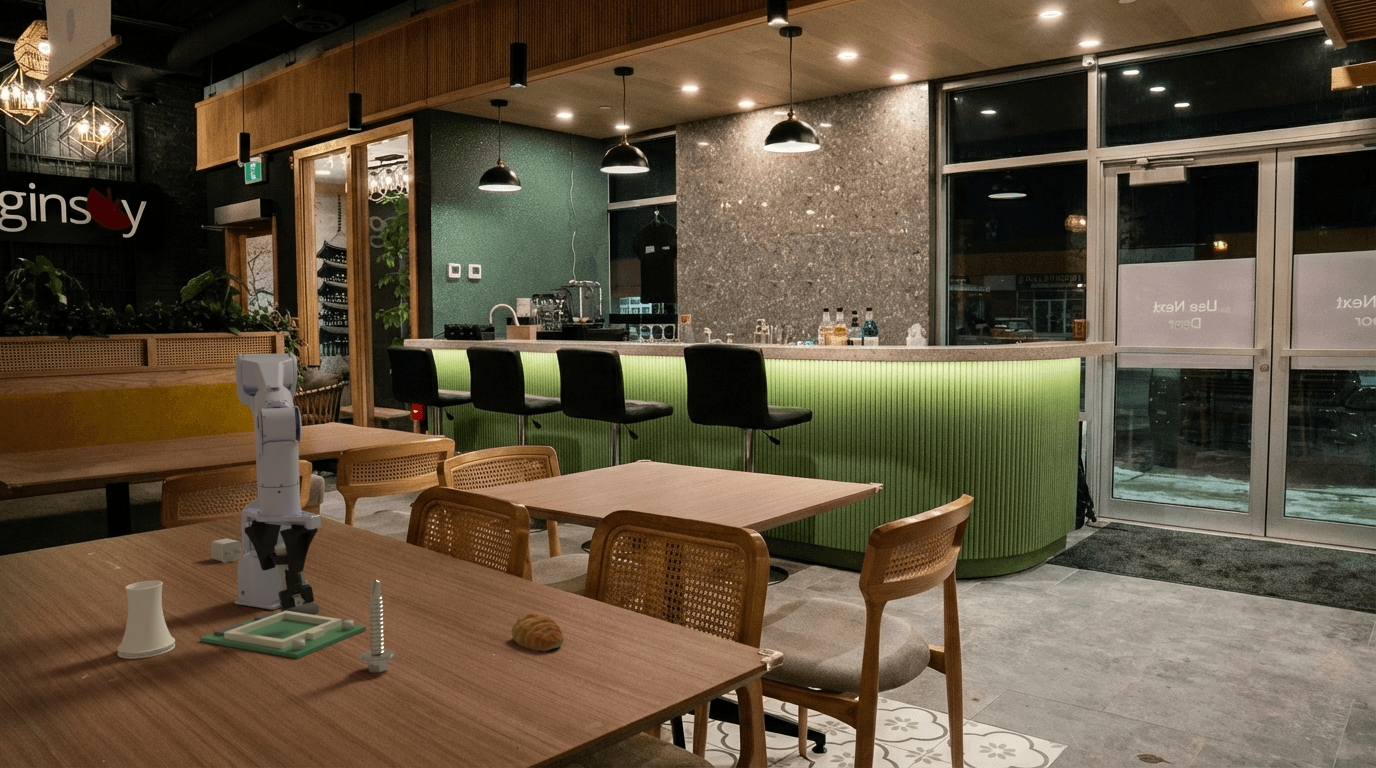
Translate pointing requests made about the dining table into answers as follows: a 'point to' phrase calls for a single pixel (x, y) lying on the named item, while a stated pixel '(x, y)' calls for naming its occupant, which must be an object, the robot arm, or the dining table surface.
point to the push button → (290, 582)
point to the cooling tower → (145, 622)
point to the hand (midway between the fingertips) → (282, 570)
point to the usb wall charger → (226, 550)
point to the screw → (376, 634)
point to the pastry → (537, 633)
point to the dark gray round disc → (305, 608)
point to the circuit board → (285, 633)
